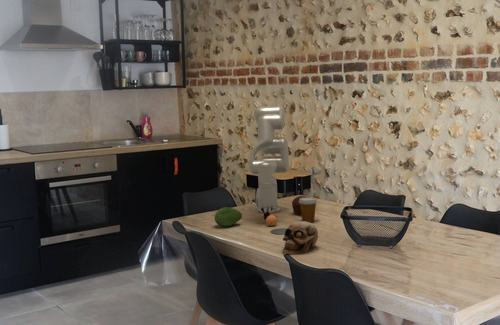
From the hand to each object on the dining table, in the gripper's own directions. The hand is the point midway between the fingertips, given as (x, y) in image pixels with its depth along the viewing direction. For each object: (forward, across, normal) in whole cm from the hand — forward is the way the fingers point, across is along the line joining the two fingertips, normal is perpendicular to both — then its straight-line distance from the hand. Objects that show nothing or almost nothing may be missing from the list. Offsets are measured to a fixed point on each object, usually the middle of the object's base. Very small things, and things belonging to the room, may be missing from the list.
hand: (266, 219), depth 333 cm
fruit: (+2, +20, -4) cm, 20 cm away
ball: (-1, 0, +7) cm, 7 cm away
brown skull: (+3, +5, +55) cm, 55 cm away
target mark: (+2, 0, +21) cm, 21 cm away
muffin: (+2, -25, -11) cm, 28 cm away
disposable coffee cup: (+2, -21, +6) cm, 22 cm away
